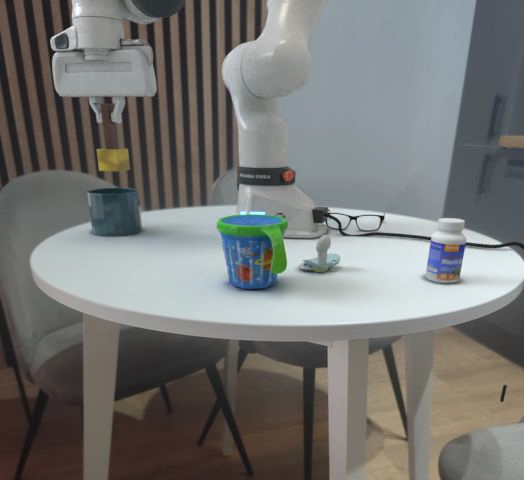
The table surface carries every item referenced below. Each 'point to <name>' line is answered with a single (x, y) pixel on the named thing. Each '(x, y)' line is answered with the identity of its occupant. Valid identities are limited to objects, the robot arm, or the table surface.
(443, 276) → the pill bottle
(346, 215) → the eyeglasses
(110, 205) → the canister
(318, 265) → the pacifier
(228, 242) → the snack cup
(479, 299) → the table surface
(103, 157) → the scrubber
